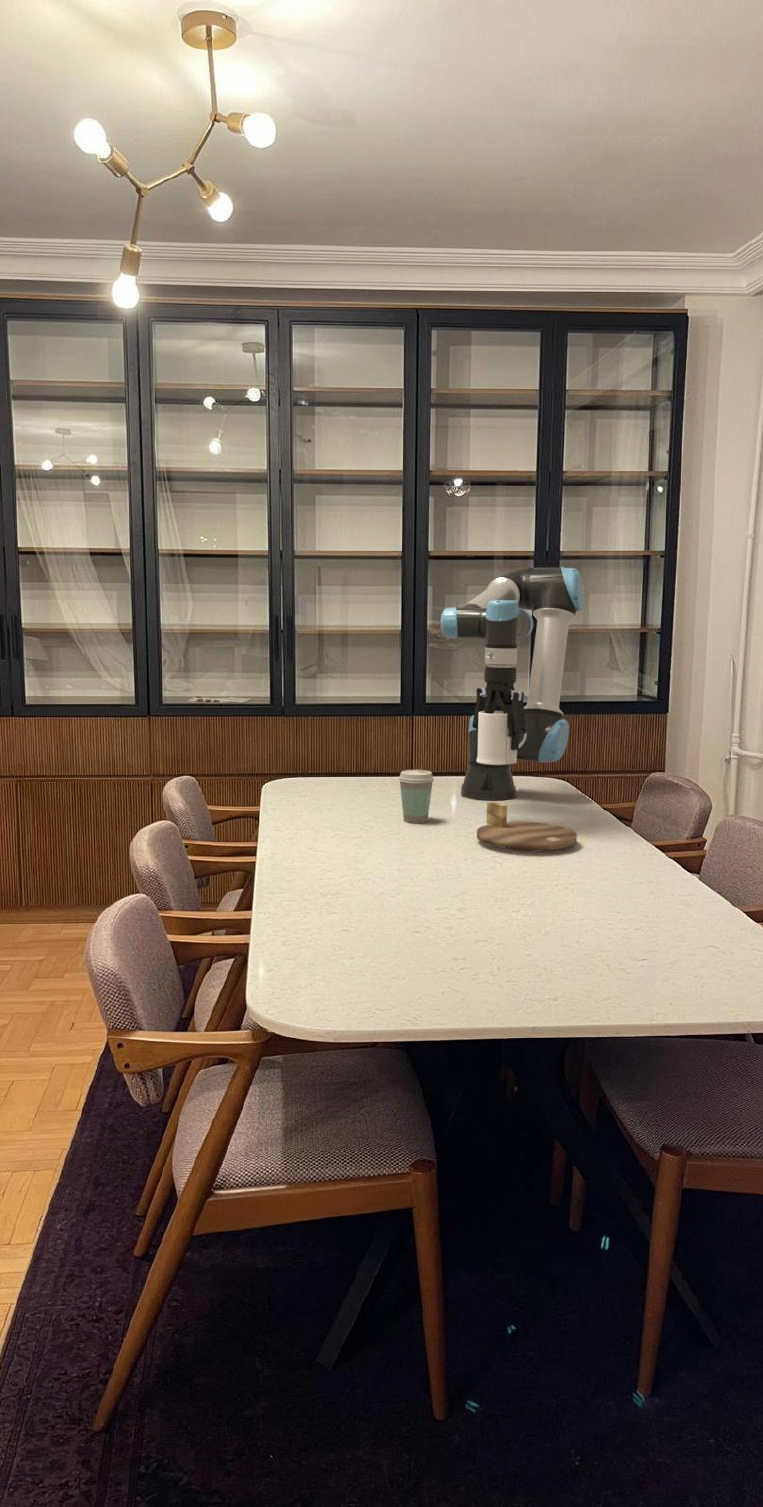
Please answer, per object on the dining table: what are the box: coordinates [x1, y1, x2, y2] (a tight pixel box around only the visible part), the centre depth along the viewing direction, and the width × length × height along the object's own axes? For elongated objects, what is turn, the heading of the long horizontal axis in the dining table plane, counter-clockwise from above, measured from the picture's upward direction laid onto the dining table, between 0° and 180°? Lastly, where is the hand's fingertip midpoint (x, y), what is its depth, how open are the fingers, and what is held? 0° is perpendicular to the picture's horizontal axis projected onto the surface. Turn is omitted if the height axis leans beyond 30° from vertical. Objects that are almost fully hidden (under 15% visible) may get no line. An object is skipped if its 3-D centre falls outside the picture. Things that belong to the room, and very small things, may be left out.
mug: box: [477, 710, 526, 765], centre depth 247 cm, size 12×8×12 cm
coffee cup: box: [398, 769, 435, 824], centre depth 253 cm, size 8×8×12 cm
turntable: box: [476, 800, 578, 851], centre depth 231 cm, size 23×22×6 cm
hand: (497, 760), depth 248 cm, fingers closed on mug, 8 cm apart
